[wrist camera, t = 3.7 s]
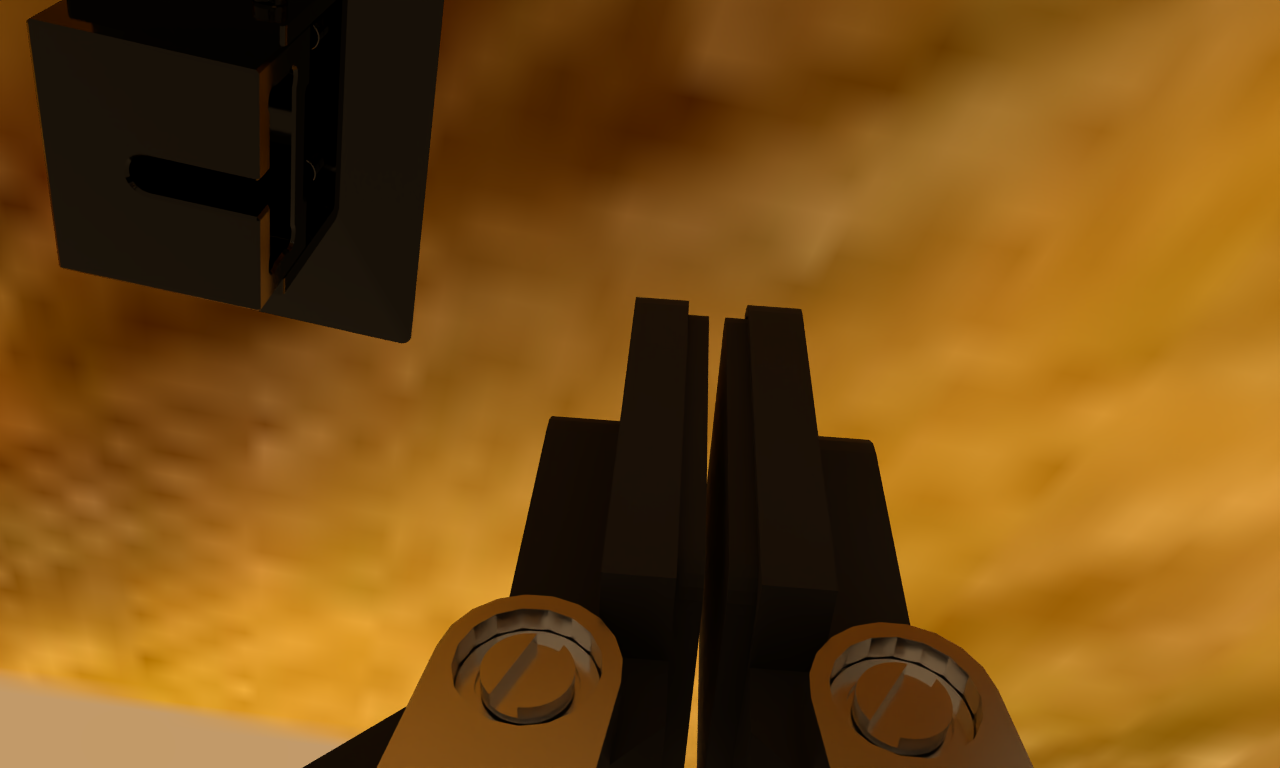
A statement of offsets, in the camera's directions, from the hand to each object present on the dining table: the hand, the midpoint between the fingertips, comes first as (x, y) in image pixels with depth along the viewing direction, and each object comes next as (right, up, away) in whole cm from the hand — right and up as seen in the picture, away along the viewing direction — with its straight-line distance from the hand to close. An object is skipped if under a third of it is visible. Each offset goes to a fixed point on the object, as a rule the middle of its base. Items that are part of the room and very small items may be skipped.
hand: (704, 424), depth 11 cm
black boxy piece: (-7, +6, +7) cm, 11 cm away
